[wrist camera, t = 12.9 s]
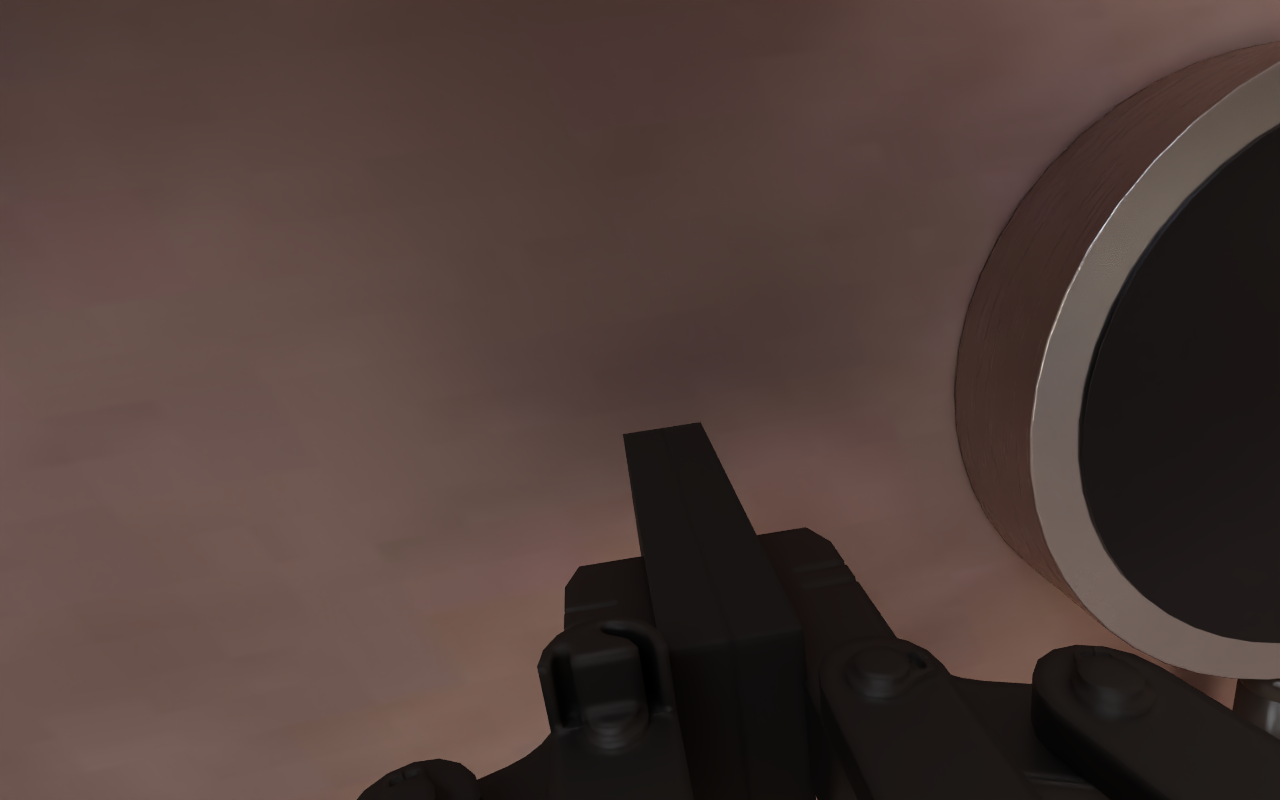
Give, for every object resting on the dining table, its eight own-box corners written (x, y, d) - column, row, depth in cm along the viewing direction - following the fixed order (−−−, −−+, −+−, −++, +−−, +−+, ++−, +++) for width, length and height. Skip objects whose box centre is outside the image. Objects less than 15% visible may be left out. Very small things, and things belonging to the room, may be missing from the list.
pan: (962, 74, 18) (1056, 46, 14) (1574, 13, 18) (1804, -27, 15) (941, 842, 24) (1001, 949, 21) (1387, 774, 25) (1514, 866, 22)
